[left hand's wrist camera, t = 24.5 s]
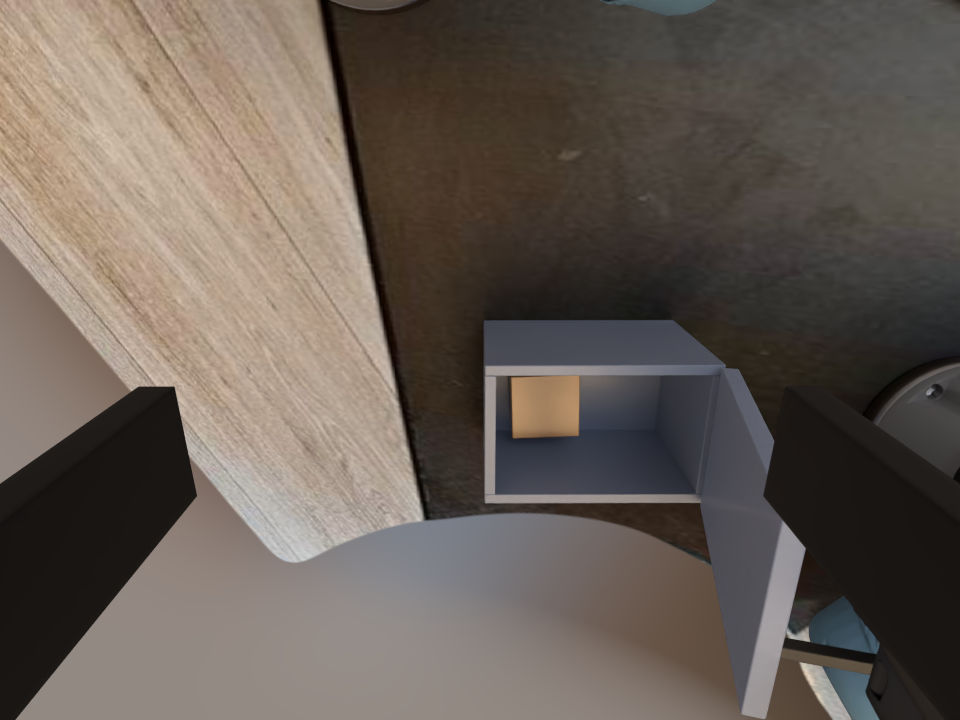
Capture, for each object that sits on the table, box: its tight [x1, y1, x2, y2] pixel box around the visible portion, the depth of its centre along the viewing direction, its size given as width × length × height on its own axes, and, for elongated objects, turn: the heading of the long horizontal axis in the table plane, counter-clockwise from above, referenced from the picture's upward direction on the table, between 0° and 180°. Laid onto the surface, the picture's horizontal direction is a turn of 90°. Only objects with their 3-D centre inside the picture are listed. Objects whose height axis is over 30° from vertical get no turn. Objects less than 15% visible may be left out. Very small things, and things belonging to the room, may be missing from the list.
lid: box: [700, 368, 876, 719], centre depth 30 cm, size 17×11×8 cm
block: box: [508, 376, 580, 438], centre depth 46 cm, size 5×5×5 cm
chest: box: [484, 320, 726, 503], centre depth 45 cm, size 16×11×11 cm
